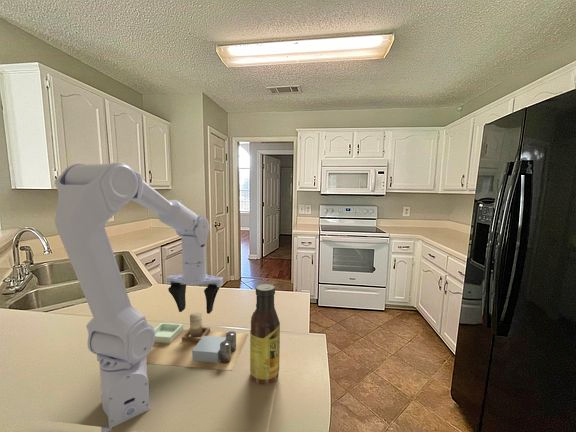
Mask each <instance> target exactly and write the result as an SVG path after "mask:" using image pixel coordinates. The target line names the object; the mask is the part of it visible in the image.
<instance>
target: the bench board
mask: <svg viewBox="0 0 576 432" xmlns="http://www.w3.org/2000/svg"><path fill="white" fill-rule="evenodd" d="M226 333H228V332H225V331H224V332H223V331H213V330H212V331H211V327H209V326H202V336H201V337H191V335H190V327H189V329H183V331H182V332H181V333H180V334H179V336H178V337H177V338H176V339H175V340H174V341H173V342H172V343H171V344H162V343H154V344H153V347H152V349H151V350H150V352H149V354H148V355H147V356H146V360H147V364H148V365H160V366H172V367H183V368H184V367H186V368H198V369H209V370H221V371H233V369H234V368H235V366H236V363H237V361H238V358H239V356H240V355H241V352H242V350H243V348H244V345H245V343H246V341H247V338H248V337H249V333H239V332H236V351H234V352H231V361H230V362H229V363H227V364H222V363H221V362H220V360H219V362H218V363H211V362H199V361H193V359H192V350H193V349H194V348H195V346H196V345H197V344H198V342H199V341H200V340H201V338H202V337H203V336H215V337H226Z"/></svg>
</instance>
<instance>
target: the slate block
mask: <svg viewBox="0 0 576 432" xmlns="http://www.w3.org/2000/svg"><path fill="white" fill-rule="evenodd" d="M223 341H226V337H215V336H203V337H202V338H201V340H200V341H199V342H198V344H197V345H196V346H195V348H194V349H193V350H192V359H193V361H199V362H211V363H218V362H219V360H220V343H221V342H223Z"/></svg>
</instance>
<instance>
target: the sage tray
mask: <svg viewBox="0 0 576 432" xmlns="http://www.w3.org/2000/svg"><path fill="white" fill-rule="evenodd" d="M154 330H155V341H154V343H162V344H171V343H172V342H173V341H174V340H175V339H176V338H177V337H178V336H179V334H180V333H181V332H182V331H183V330H184V323H173V322H172V323H169V322H161V323H159V325H157V326H156V327H154Z"/></svg>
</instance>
